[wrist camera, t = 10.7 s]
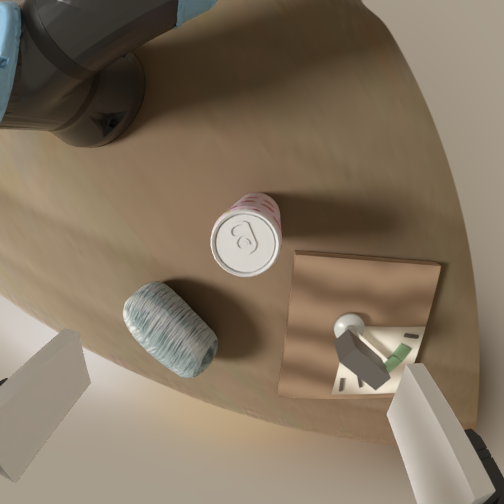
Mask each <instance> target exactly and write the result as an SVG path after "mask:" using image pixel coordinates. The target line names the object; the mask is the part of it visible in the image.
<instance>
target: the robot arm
mask: <svg viewBox="0 0 504 504" xmlns="http://www.w3.org/2000/svg"><path fill="white" fill-rule="evenodd" d="M216 2H217V0H24V1H23V2H22V3H21V4H19V5H18V4H17V3H16V2H14V1H8V2H7V1H2V2H0V129H19V130H38V131H50V132H51V133H52V134H54V135H55V136H57V137H58V138H60V139H61V140H62V141H64V142H65V143H67V144H69V145H72V146H76V147H87V148H93V147H99V146H102V145H105V144H107V143H109V142H111V141H113V140H114V139H116V138H117V137H118V136H120V135H121V134H122V133H123V132H124V131H125V130H126V129H127V128H128V126H129V125H130V124H131V123H132V121H133V120H134V118H135V116H136V115H137V113H138V111H139V108H140V106H141V103H142V100H143V96H144V90H145V77H144V72H143V68H142V66H141V64H140V62H139V60H138V59H137V58H136V57H135V56H134V55H133V54H132V53H131V51H133V50H134V49H136V48H138V47H140V46H141V45H143V44H145V43H147V42H148V41H150V40H152V39H154V38H156V37H158V36H160V35H161V34H163V33H165V32H167V31H169V30H171V29H173V28H174V29H177V28H179V27H180V26H181V24H182V23H184V22H186V21H188V20H190V19H192V18H194V17H196V16H198V15H200V14H202V13H204V12H206V11H208V10H209V9H211V8H212V7H213V6H214V5H215V3H216ZM90 383H91V382H90V378H89V375H88V371H87V367H86V363H85V359H84V355H83V350H82V346H81V341H80V336H79V332H77V331H73V330H69V329H64V330H62V331H61V332H60V333H59V334H58V335H57V336H55V337H54V338H53V339H52V340H51V341H50V342H49V343H47V344H46V345H45V346H44V347H43V348H42V349H41V350H39V351H38V352H37V353H36V354H35V355H34V356H33V357H32V358H30V359H29V360H28V361H27V362H26V363H25V364H24V365H23V366H22V367H21V368H20V369H18V370H17V371H16V372H15V373H14V374H13V375H12V376H11V377H10V378H9V379H8V378H5V379H3V380H1V381H0V474H1V475H2V476H3V477H5V478H6V479H8V480H9V481H11V482H12V483H14V484H16V483H17V482H18V480H19V479H20V477H21V476H22V474H23V473H24V472H25V470H26V469H27V467H28V466H29V465H30V463H31V462H32V460H33V459H34V458H35V456H36V455H37V453H38V452H39V451H40V449H41V448H42V447H43V445H44V444H45V443H46V441H47V440H48V438H49V437H50V436H51V434H52V433H53V432H54V430H55V429H56V428H57V426H58V425H59V424H60V422H61V421H62V420H63V418H64V417H65V416H66V414H67V413H68V412H69V411H70V409H71V408H72V407H73V405H74V404H75V403H76V401H77V400H78V399H79V398H80V396H81V395H82V394H83V392H84V391H85V390H86V389H87V387H88V386H89V385H90ZM387 417H388V419H389V422H390V425H391V427H392V430H393V433H394V436H395V438H396V441H397V444H398V447H399V449H400V453H401V455H402V458H403V461H404V464H405V467H406V470H407V473H408V476H409V479H410V482H411V485H412V488H413V492H414V495H415V498H416V501H417V504H504V478H503V476H502V474H501V472H500V470H499V468H498V466H497V465H496V463H495V461H494V459H493V458H491V454H490V452H489V450H488V449H486V448H487V447H486V445H485V443H484V442H483V440H482V438H481V437H480V436H479V435H478V434H477V433H476V432H474V431H473V430H472V429H467V430H463V428H462V426H461V425H460V423H459V421H458V419H457V418H456V416H455V414H454V413H453V411H452V409H451V408H450V406H449V404H448V403H447V401H446V399H445V398H444V396H443V394H442V393H441V391H440V390H439V388H438V386H437V385H436V383H435V382H434V380H433V378H432V377H431V375H430V374H429V372H428V371H427V369H426V368H425V366H424V364H423V363H415V364H406V366H405V369H404V372H403V375H402V377H401V380H400V383H399V385H398V388H397V390H396V393H395V396H394V398H393V400H392V403H391V405H390V408H389V410H388V412H387Z"/></svg>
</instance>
